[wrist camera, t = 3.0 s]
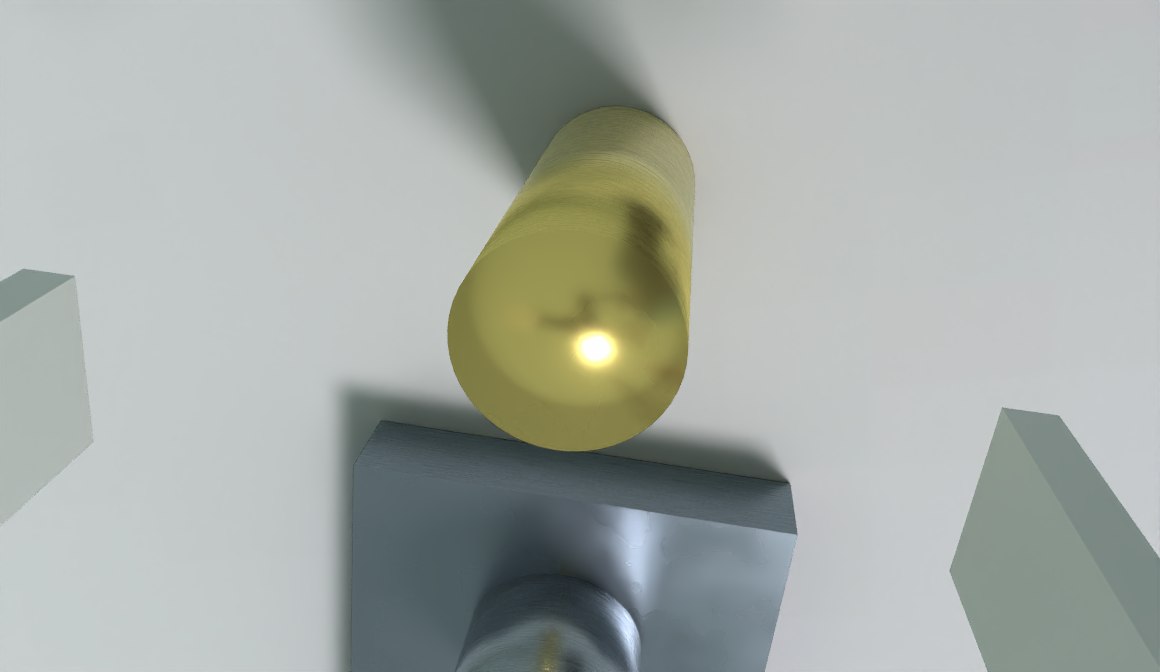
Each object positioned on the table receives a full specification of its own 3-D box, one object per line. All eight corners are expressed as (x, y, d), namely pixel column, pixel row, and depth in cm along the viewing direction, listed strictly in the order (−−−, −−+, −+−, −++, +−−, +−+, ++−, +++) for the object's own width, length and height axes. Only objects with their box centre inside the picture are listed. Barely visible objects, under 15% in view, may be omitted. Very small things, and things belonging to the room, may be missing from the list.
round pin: (546, 96, 25) (453, 213, 16) (706, 117, 24) (706, 249, 15) (532, 247, 26) (441, 432, 17) (682, 268, 26) (669, 467, 17)
